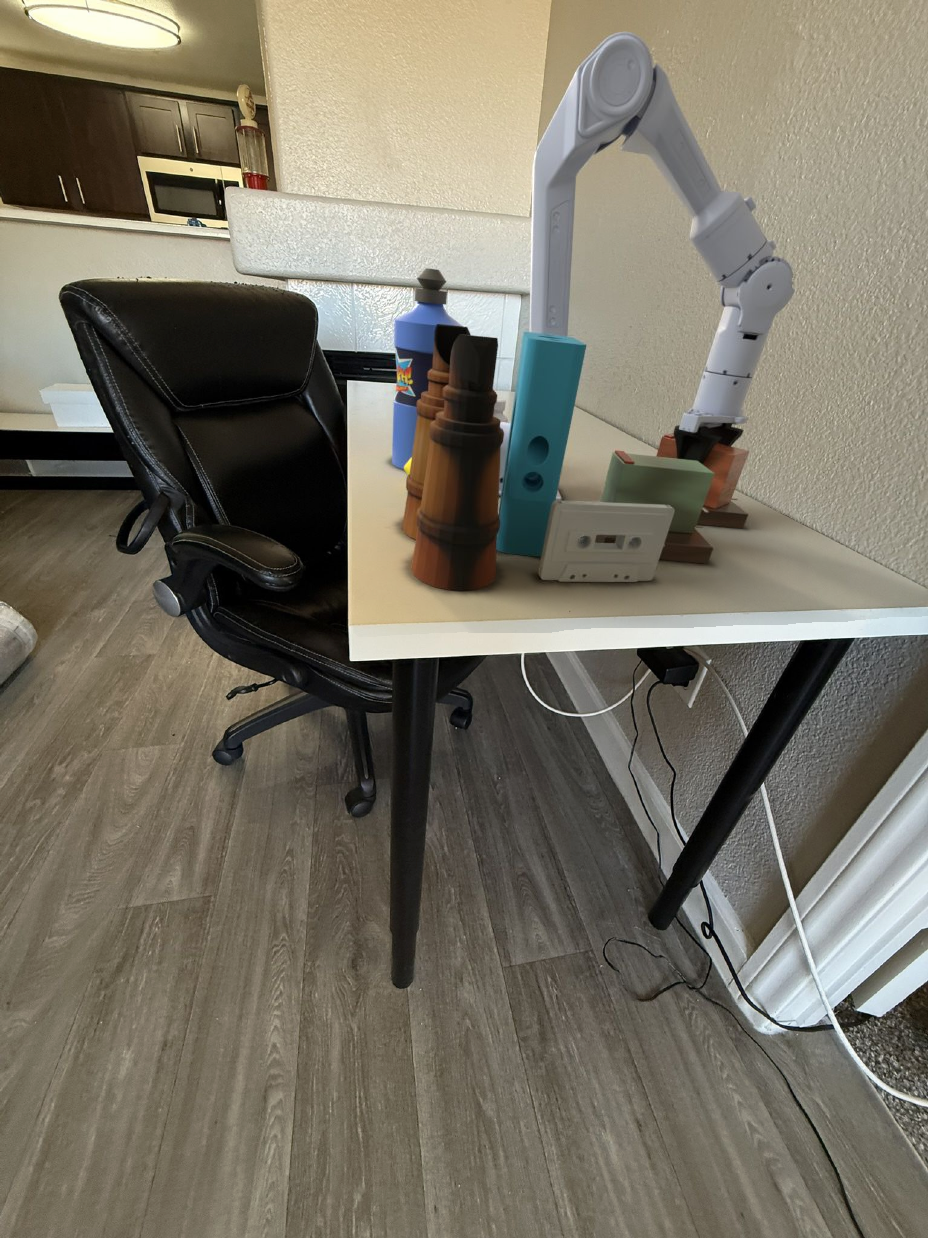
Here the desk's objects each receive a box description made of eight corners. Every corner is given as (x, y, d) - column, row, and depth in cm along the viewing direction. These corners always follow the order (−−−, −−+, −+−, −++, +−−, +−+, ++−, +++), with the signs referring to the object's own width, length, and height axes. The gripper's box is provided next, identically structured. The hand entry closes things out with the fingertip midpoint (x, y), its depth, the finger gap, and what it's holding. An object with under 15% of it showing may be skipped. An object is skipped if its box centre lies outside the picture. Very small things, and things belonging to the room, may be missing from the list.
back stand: (754, 532, 68) (761, 516, 67) (648, 521, 67) (653, 506, 66) (712, 497, 80) (717, 483, 79) (621, 488, 80) (625, 473, 78)
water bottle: (404, 474, 74) (412, 264, 61) (382, 456, 81) (385, 264, 68) (462, 471, 78) (481, 274, 65) (436, 454, 85) (448, 272, 72)
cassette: (541, 582, 50) (556, 505, 46) (535, 573, 51) (549, 498, 47) (655, 583, 52) (679, 509, 48) (646, 574, 53) (669, 502, 49)
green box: (678, 518, 64) (698, 458, 60) (693, 533, 59) (715, 470, 56) (598, 510, 63) (613, 449, 59) (607, 525, 59) (624, 461, 55)
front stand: (721, 569, 57) (728, 551, 55) (593, 557, 56) (597, 538, 55) (677, 521, 69) (682, 506, 67) (571, 511, 68) (575, 495, 67)
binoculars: (505, 590, 47) (544, 345, 37) (415, 591, 46) (430, 334, 35) (467, 516, 63) (486, 327, 52) (398, 514, 61) (404, 318, 50)
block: (544, 564, 53) (588, 345, 43) (495, 558, 53) (527, 338, 43) (537, 522, 63) (571, 337, 53) (497, 517, 63) (523, 331, 53)
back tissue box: (730, 502, 71) (750, 449, 68) (715, 508, 68) (735, 453, 64) (663, 481, 77) (679, 431, 73) (647, 486, 74) (662, 434, 70)
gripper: (738, 380, 58) (697, 498, 65) (780, 378, 67) (740, 482, 74) (679, 370, 62) (646, 482, 69) (726, 369, 71) (693, 468, 78)
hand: (692, 481), depth 72 cm, fingers closed on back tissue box, 5 cm apart
